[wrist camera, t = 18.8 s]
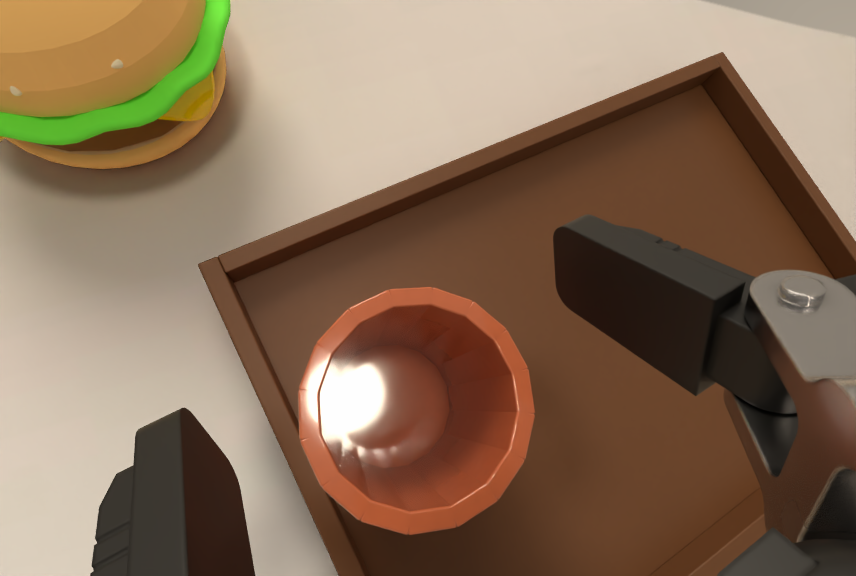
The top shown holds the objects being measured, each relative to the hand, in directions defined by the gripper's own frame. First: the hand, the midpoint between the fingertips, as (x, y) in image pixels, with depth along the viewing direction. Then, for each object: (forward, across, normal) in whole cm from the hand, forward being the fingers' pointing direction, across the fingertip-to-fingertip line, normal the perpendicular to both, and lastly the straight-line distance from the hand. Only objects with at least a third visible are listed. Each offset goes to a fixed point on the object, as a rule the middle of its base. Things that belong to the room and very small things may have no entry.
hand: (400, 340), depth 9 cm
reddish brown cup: (+6, 0, +8) cm, 11 cm away
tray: (+6, -11, +10) cm, 16 cm away
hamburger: (+20, +4, -4) cm, 21 cm away
